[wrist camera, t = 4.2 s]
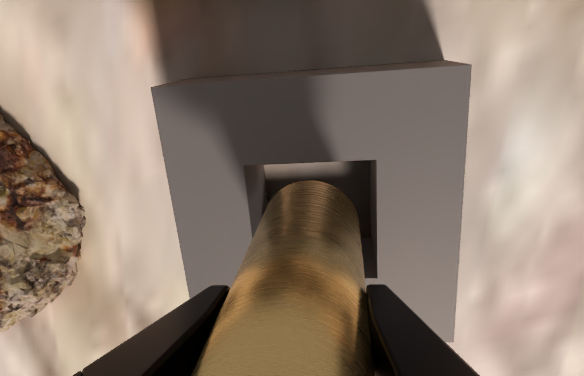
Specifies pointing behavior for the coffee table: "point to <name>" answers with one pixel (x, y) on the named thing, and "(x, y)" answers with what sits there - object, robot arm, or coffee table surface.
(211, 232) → the block
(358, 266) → the brass pin
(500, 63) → the coffee table surface
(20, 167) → the mineral rock
